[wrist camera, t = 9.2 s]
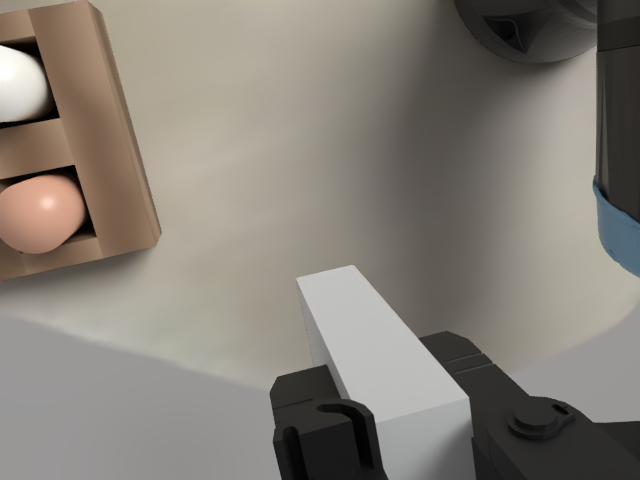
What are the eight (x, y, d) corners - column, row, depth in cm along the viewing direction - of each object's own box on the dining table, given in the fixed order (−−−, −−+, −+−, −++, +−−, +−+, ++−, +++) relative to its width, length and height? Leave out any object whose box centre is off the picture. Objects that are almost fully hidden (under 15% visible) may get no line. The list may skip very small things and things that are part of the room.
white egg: (46, 47, 36) (13, 35, 30) (66, 113, 37) (39, 114, 31) (-23, 58, 35) (-70, 48, 29) (0, 126, 36) (-41, 129, 31)
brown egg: (82, 165, 38) (58, 175, 32) (100, 225, 39) (80, 244, 33) (17, 178, 37) (-19, 190, 32) (37, 238, 38) (6, 261, 33)
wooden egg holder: (101, 12, 37) (86, 0, 33) (161, 232, 41) (155, 246, 37) (-83, 43, 36) (-124, 33, 31) (-1, 268, 40) (-28, 287, 36)
